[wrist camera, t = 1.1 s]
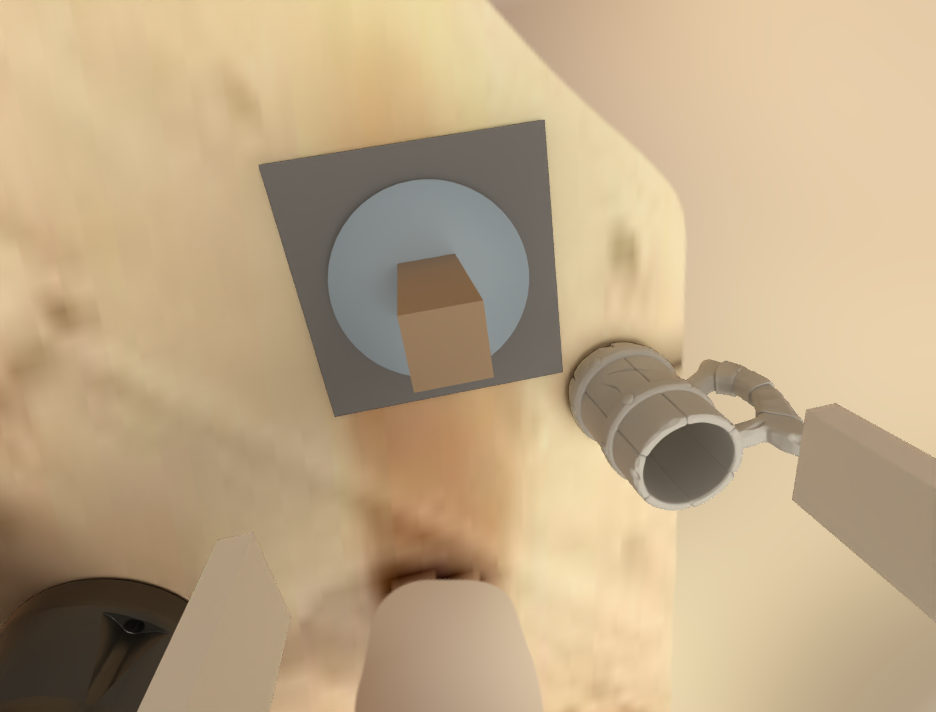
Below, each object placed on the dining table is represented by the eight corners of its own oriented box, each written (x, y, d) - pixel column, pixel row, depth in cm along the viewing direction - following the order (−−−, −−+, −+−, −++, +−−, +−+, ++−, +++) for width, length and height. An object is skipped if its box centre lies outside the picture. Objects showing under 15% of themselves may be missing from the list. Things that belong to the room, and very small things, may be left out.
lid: (357, 385, 31) (337, 495, 21) (306, 197, 26) (247, 221, 16) (532, 351, 32) (595, 441, 22) (513, 163, 27) (583, 165, 17)
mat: (335, 412, 32) (334, 416, 32) (261, 164, 26) (258, 165, 25) (560, 368, 33) (562, 372, 33) (541, 120, 27) (544, 119, 26)
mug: (553, 357, 33) (630, 455, 22) (711, 305, 33) (866, 376, 22) (574, 443, 36) (651, 566, 25) (719, 395, 36) (857, 497, 25)
